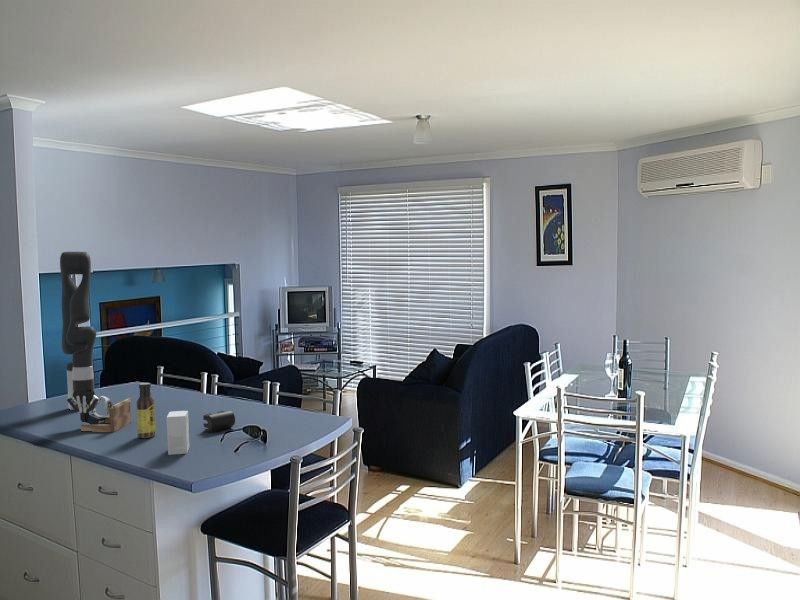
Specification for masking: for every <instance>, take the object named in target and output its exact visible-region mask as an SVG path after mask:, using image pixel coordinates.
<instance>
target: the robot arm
mask: <svg viewBox="0 0 800 600" xmlns="http://www.w3.org/2000/svg"><path fill="white" fill-rule="evenodd" d="M90 256H91V255H90V253H89V252H87V251H63V252H61V254H60V257H59V268H60V277H61V280H60V281H61V318H62V319H61V320H62V327H61V328H62V330H61V349H62V352H63V354H64V355H71V356H72V357H71V359H72V360H71V361H69V362H68V363H67V364H66V380H67V382H66V383H67V399H66V401H67V403H68V410H69V409H70V411H75V412H79V414H80V415H79V417H80V421H81V423H86V422H87V420H88V417H89V415H90V412H92V410H94V408H95V407H97V406H98V404H99V402H100V401H101V400H102V398H100V396H96V393H95V391H94V390H95V378H94V377H95V376H94V375H95V374H94V367H93V351H94V346H95V343H96V338H97V330H96V329H95V328H94V327H93V326H88V325H87V326H79V325H80V324H81V325H82V324H85V323H88V322H89V321H90V318H91V312H90V311H91V310H90V292H91V289H90V288H91V274H92V273H91V272H92V268H91V267H92V265H91V264H92V261H91V257H90ZM71 275H81V276H82V277H81V280H80V283H79V285H78V286H77V285H76V283H75V282H74V281H73V279H72V277H71ZM98 397H99V398H98ZM92 401H93V403H92ZM91 403H92V404H91Z"/></svg>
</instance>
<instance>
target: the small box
mask: <svg viewBox="0 0 800 600" xmlns="http://www.w3.org/2000/svg"><path fill="white" fill-rule="evenodd" d="M165 420H166V435H167V436H166V438H167V455H169V456H171V455H172V456H173V455H182V454H183V455H184V454H188V452H189V449H190V433H189V432H190V431H189V430H190V429H189V427H190V426H189V425H190V424H189V423H190V422H189V411H188V410H175V411H174V410H173V411H169V412H168V414H167V416H166V419H165Z"/></svg>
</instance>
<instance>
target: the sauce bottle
mask: <svg viewBox="0 0 800 600" xmlns="http://www.w3.org/2000/svg"><path fill="white" fill-rule="evenodd" d="M151 386H152V384H151V383H150V382H141V383H139V384H138V388H139V397H138V399H137V401H136V430H137V437H138V438H139V439H150V438H153V437H155V436H156V411H155V400H154V399H153V398H152V395H151Z"/></svg>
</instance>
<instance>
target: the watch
mask: <svg viewBox="0 0 800 600" xmlns="http://www.w3.org/2000/svg"><path fill="white" fill-rule="evenodd" d="M97 397H98V398H99V397H100V398H101V399H102V400H103V401H104V402H103V408H104V411H105V414H104V415H102V414H99V413H97V409H96V407H97V406H96V407H95V408H94V410H92V411H91V413H92V414H89V417H88V420H87V422H85V424H105V423H104V421H105V419H106V417H105V416H109V409H110V408H112V407H113V405H114V404H113V401H112V399H110V398H109V397H107V396H105V395H101V396H97ZM92 403H93V400H92ZM92 403H91V404H92Z"/></svg>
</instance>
